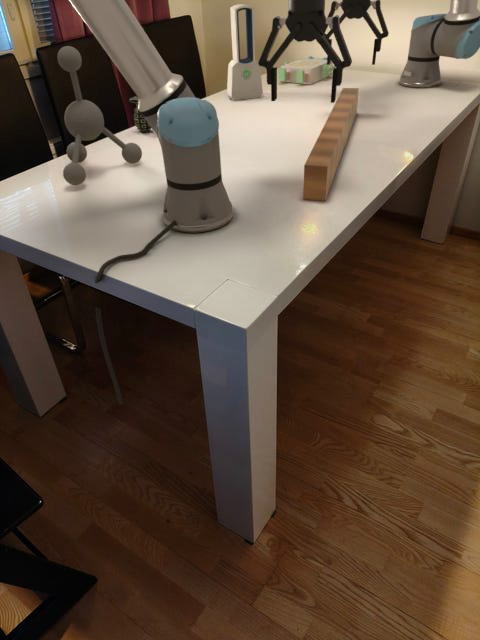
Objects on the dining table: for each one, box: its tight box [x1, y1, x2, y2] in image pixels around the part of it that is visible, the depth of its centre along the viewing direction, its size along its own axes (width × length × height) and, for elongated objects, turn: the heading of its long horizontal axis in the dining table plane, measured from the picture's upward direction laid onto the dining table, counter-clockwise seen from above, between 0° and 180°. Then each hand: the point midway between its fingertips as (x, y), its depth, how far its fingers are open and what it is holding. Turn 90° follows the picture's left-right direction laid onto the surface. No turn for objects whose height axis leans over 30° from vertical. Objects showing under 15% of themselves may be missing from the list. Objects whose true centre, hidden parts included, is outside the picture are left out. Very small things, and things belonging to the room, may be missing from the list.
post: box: [302, 87, 359, 202], centre depth 136 cm, size 70×5×8 cm, turn 164°
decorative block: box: [277, 55, 336, 85], centre depth 206 cm, size 26×6×20 cm
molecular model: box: [57, 45, 143, 186], centre depth 125 cm, size 24×22×30 cm
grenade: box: [128, 96, 152, 133], centre depth 156 cm, size 7×6×10 cm
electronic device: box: [226, 3, 264, 101], centre depth 179 cm, size 12×8×30 cm, turn 105°
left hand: (303, 100), depth 111 cm, fingers open, 13 cm apart
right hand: (350, 63), depth 150 cm, fingers open, 13 cm apart
